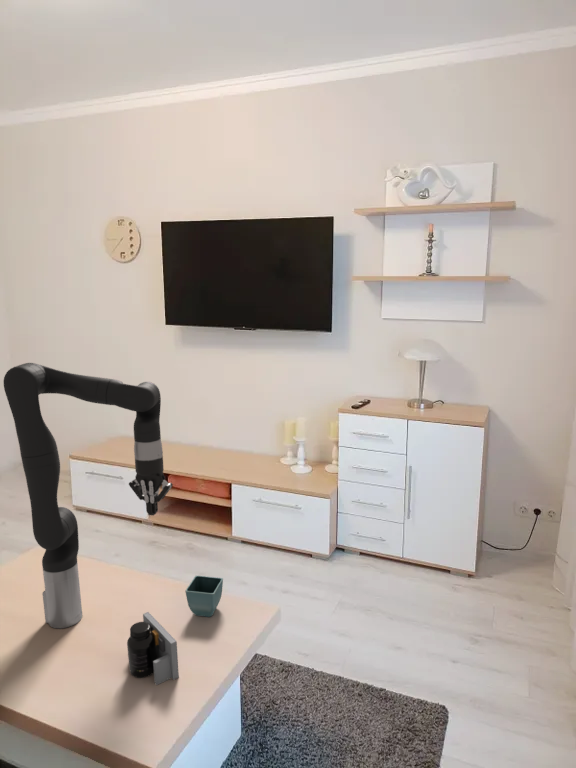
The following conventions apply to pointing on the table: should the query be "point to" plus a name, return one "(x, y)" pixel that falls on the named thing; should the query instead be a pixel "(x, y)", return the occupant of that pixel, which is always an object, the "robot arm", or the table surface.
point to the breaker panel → (163, 651)
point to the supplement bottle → (141, 650)
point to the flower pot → (204, 595)
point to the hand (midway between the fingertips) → (152, 514)
